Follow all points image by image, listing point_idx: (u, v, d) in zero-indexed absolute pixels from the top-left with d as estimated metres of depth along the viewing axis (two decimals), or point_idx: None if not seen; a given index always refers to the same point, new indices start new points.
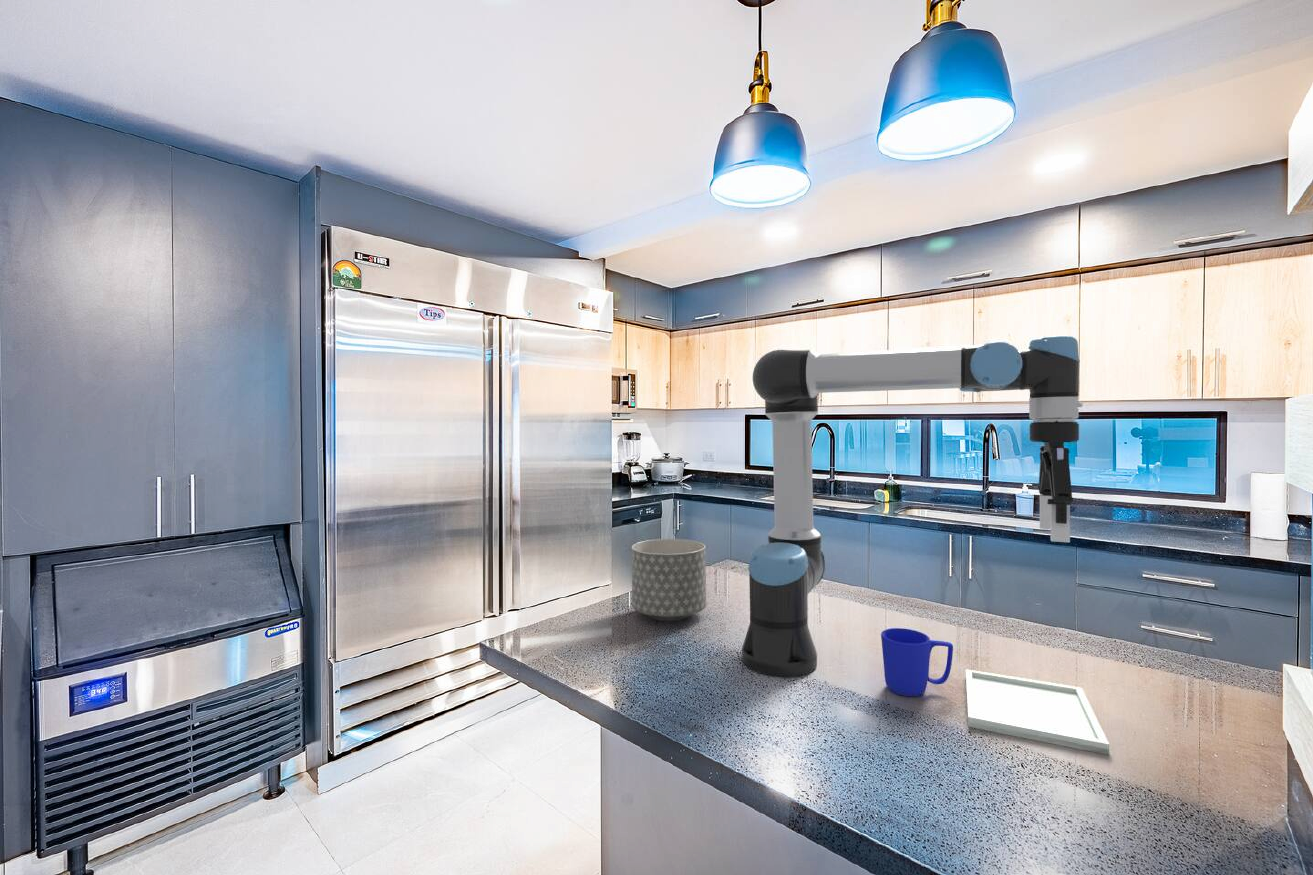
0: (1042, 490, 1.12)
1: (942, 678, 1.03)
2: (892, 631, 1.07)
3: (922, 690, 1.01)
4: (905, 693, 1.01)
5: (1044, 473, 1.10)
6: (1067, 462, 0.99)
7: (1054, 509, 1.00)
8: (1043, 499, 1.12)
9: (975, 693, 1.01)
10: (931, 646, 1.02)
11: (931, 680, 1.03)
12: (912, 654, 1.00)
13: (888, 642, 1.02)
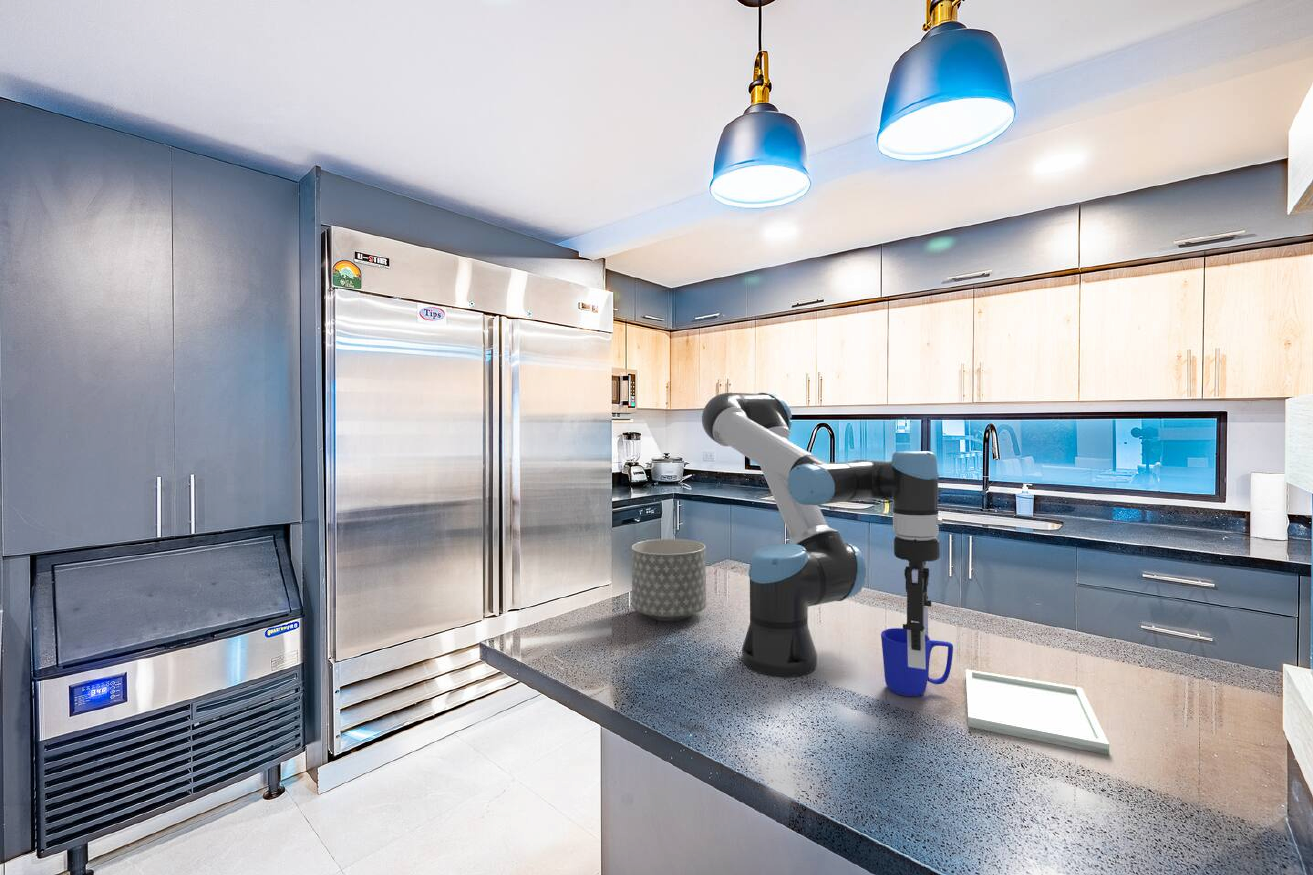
0: None
1: (942, 678, 1.03)
2: (892, 631, 1.07)
3: (922, 690, 1.01)
4: (905, 693, 1.01)
5: None
6: (921, 586, 0.96)
7: (910, 634, 0.97)
8: None
9: (975, 693, 1.01)
10: (931, 646, 1.02)
11: (931, 680, 1.03)
12: None
13: (888, 642, 1.02)
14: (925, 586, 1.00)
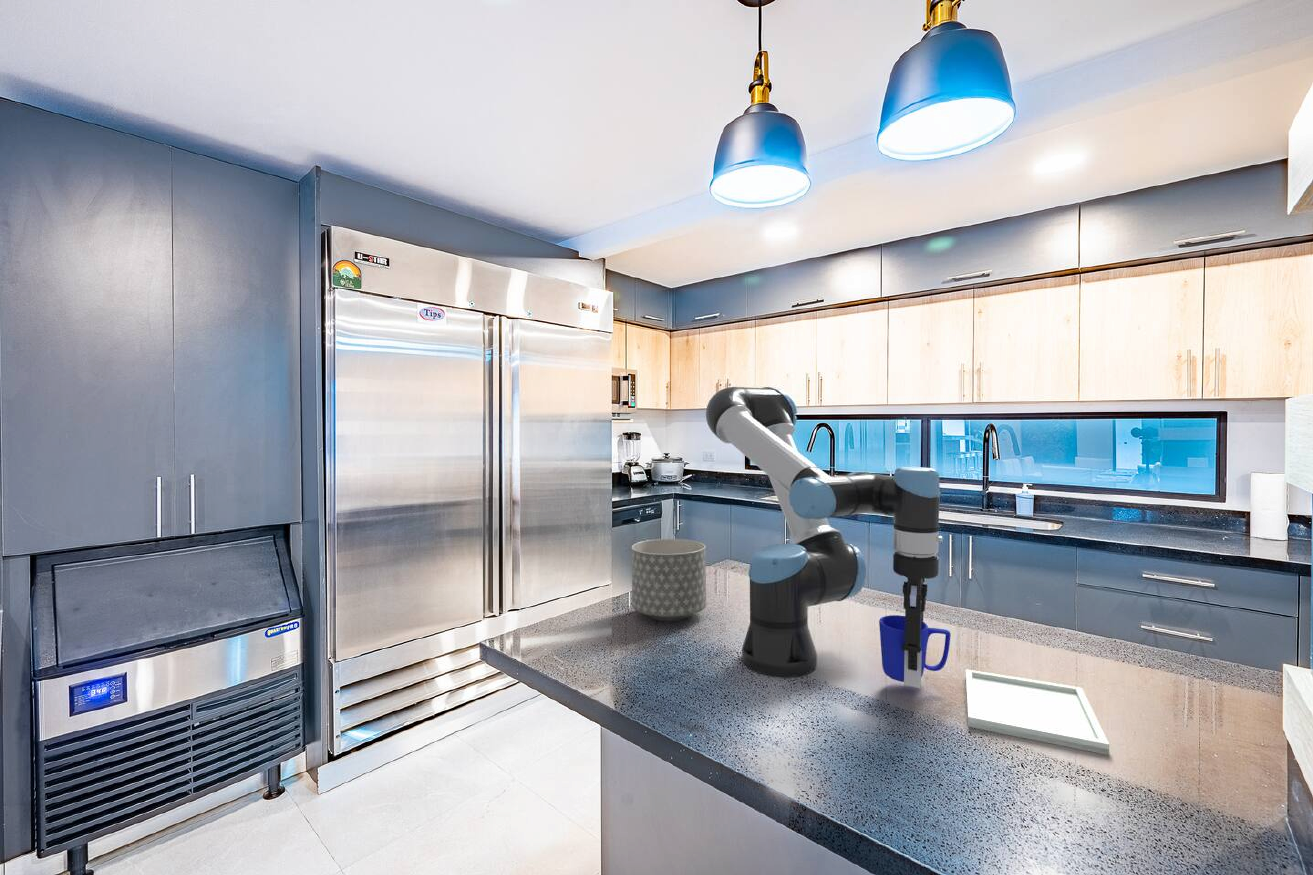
0: None
1: (939, 665, 1.03)
2: (890, 618, 1.08)
3: None
4: (902, 679, 1.02)
5: None
6: (919, 610, 0.98)
7: (907, 654, 1.01)
8: None
9: (975, 693, 1.01)
10: (929, 633, 1.03)
11: (928, 667, 1.04)
12: None
13: (886, 629, 1.03)
14: (923, 605, 1.01)
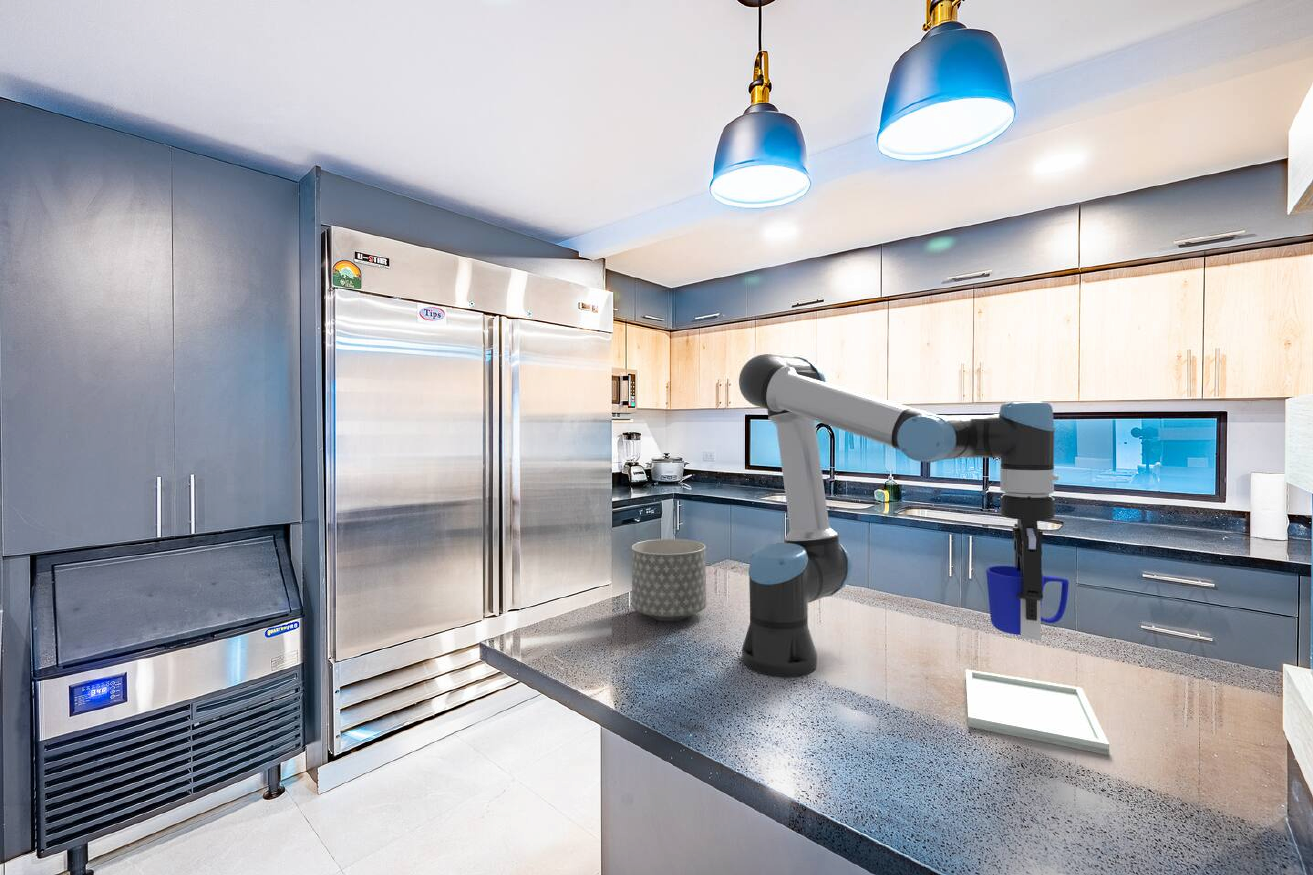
0: None
1: (1056, 616, 0.95)
2: (996, 569, 1.00)
3: None
4: (1017, 632, 0.94)
5: None
6: (1039, 553, 0.89)
7: (1024, 603, 0.92)
8: None
9: (975, 693, 1.01)
10: (1044, 582, 0.95)
11: (1043, 619, 0.95)
12: None
13: (997, 578, 0.95)
14: None
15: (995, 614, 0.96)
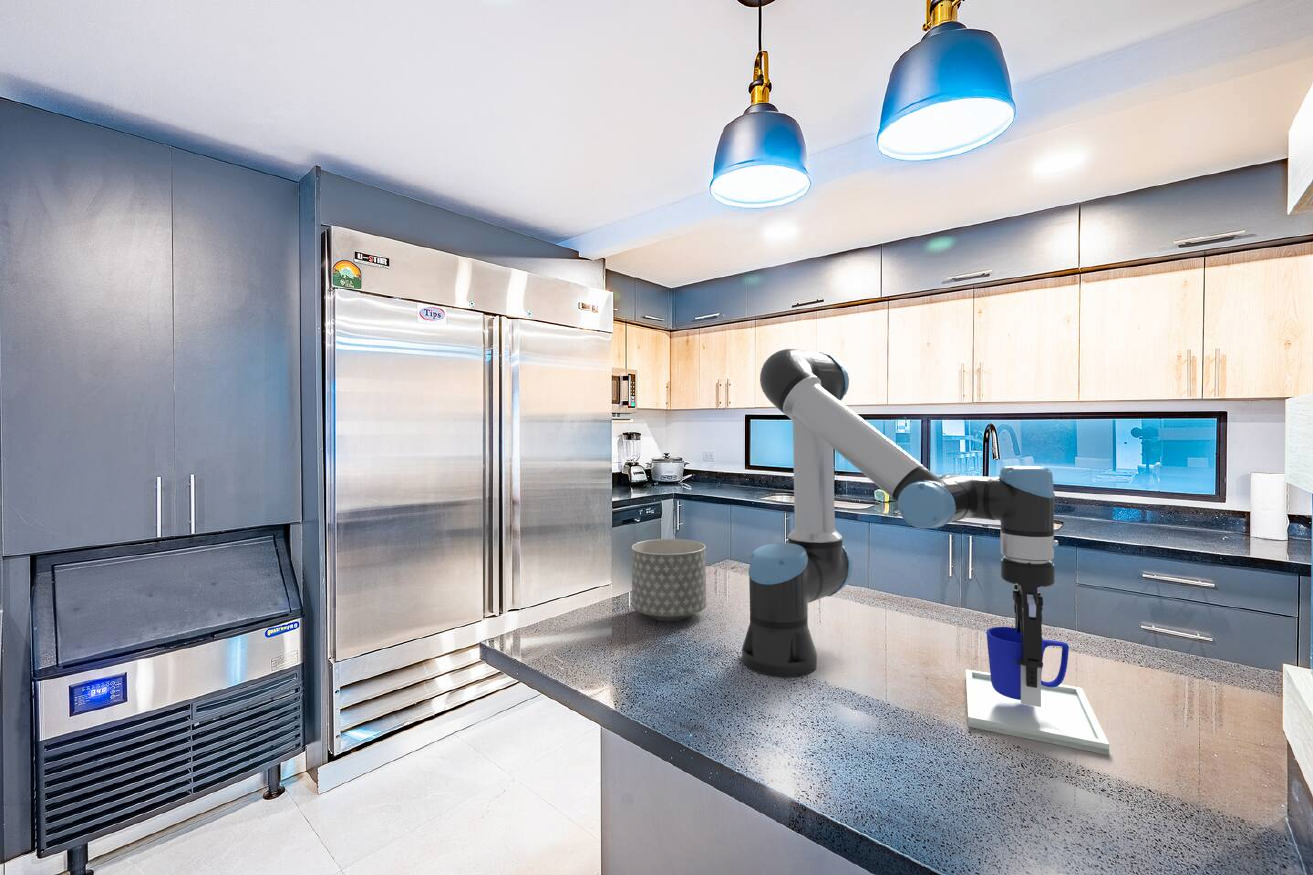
0: None
1: (1057, 680, 0.95)
2: (997, 630, 1.00)
3: None
4: (1017, 697, 0.94)
5: None
6: (1039, 622, 0.90)
7: (1024, 669, 0.93)
8: None
9: (975, 693, 1.01)
10: (1044, 646, 0.95)
11: (1044, 683, 0.95)
12: None
13: (998, 642, 0.95)
14: None
15: (995, 678, 0.96)
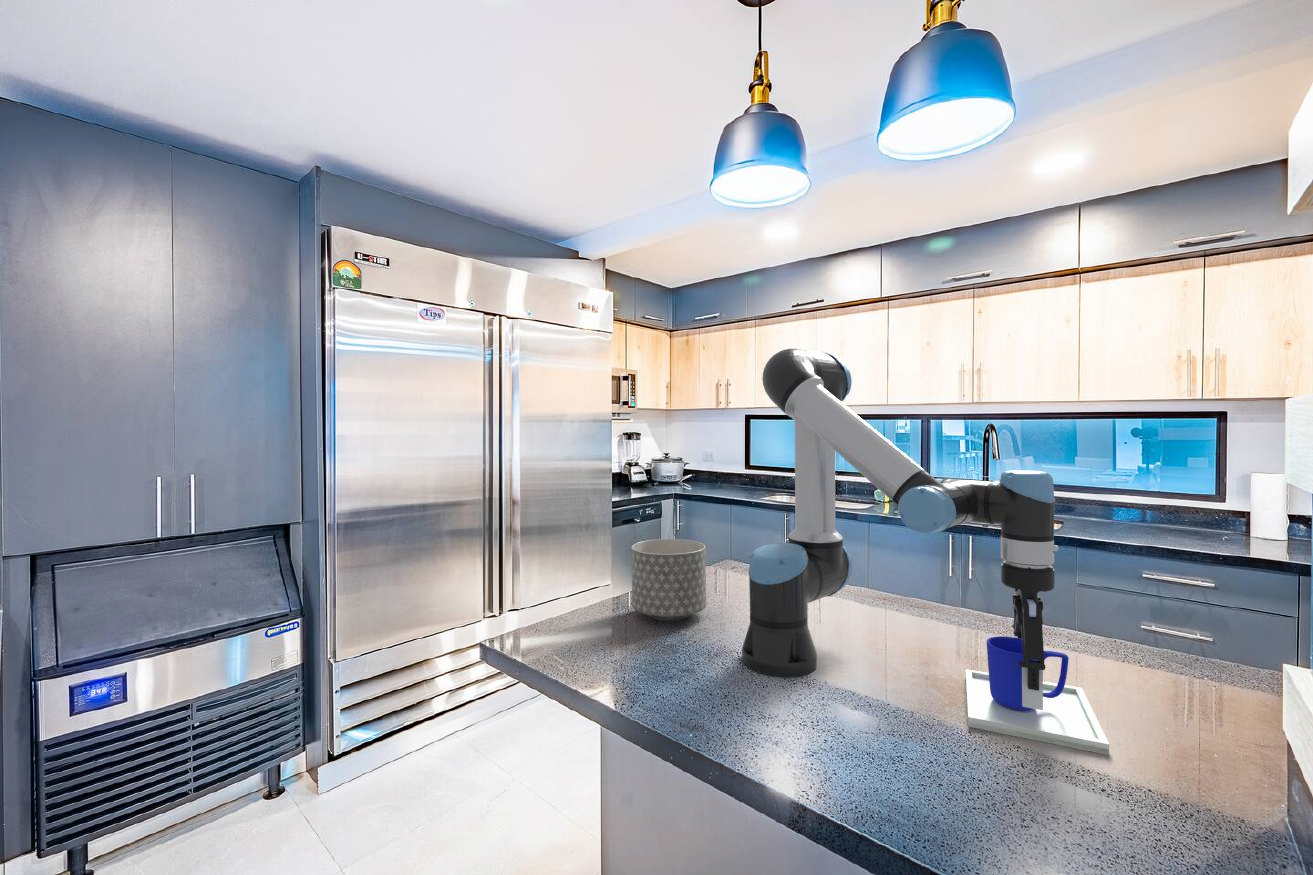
0: (1017, 632, 1.02)
1: (1056, 691, 0.95)
2: (997, 639, 1.00)
3: None
4: (1016, 707, 0.94)
5: None
6: (1040, 621, 0.89)
7: (1026, 671, 0.90)
8: None
9: (975, 693, 1.01)
10: (1044, 657, 0.95)
11: (1043, 693, 0.96)
12: None
13: (998, 652, 0.95)
14: None
15: (995, 687, 0.96)
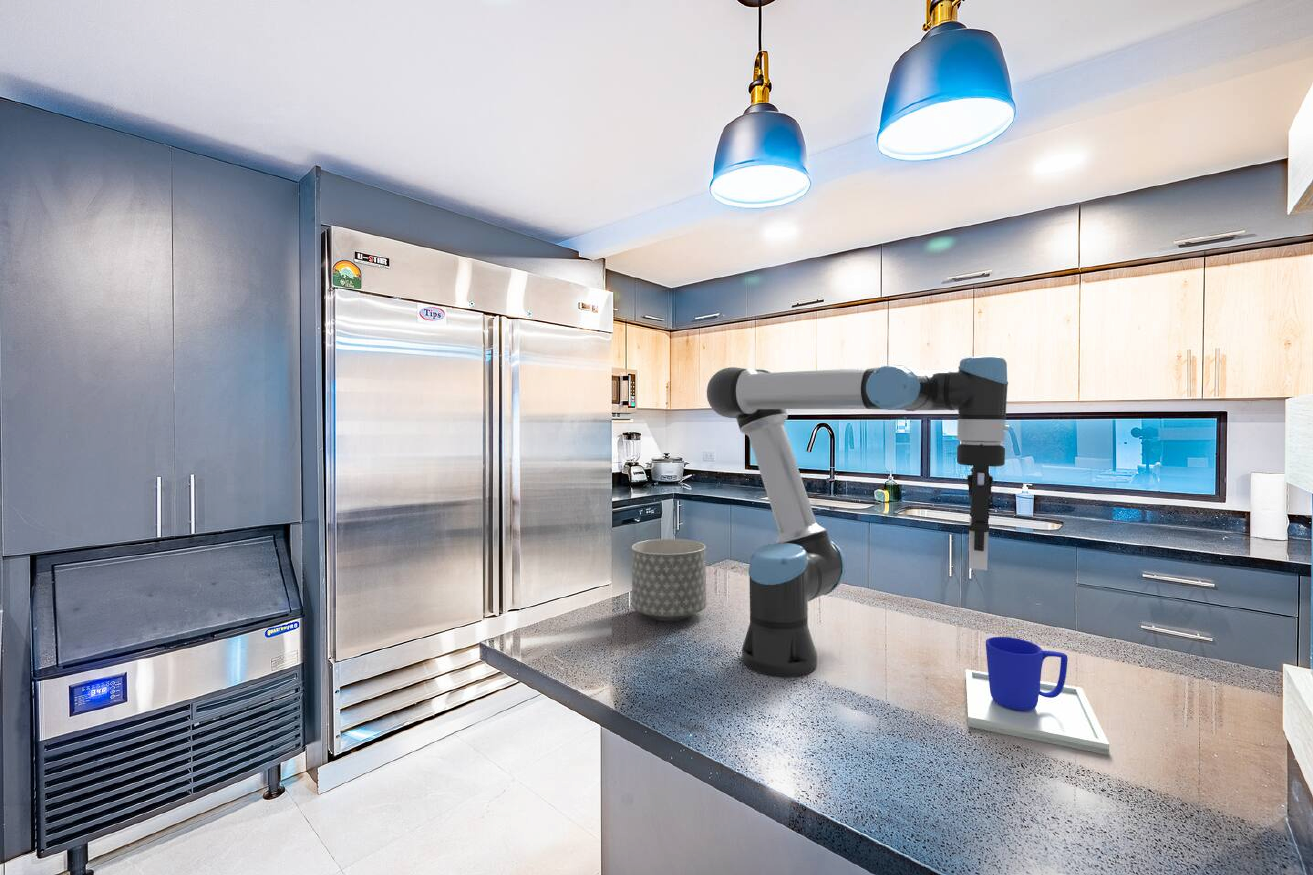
0: (972, 513, 1.10)
1: (1055, 691, 0.95)
2: (996, 640, 1.00)
3: (1035, 704, 0.94)
4: (1016, 707, 0.94)
5: None
6: (987, 488, 0.96)
7: (973, 535, 0.97)
8: None
9: (975, 693, 1.01)
10: (1043, 657, 0.95)
11: (1043, 693, 0.96)
12: (1025, 665, 0.93)
13: (997, 653, 0.95)
14: (989, 490, 0.99)
15: (994, 688, 0.96)
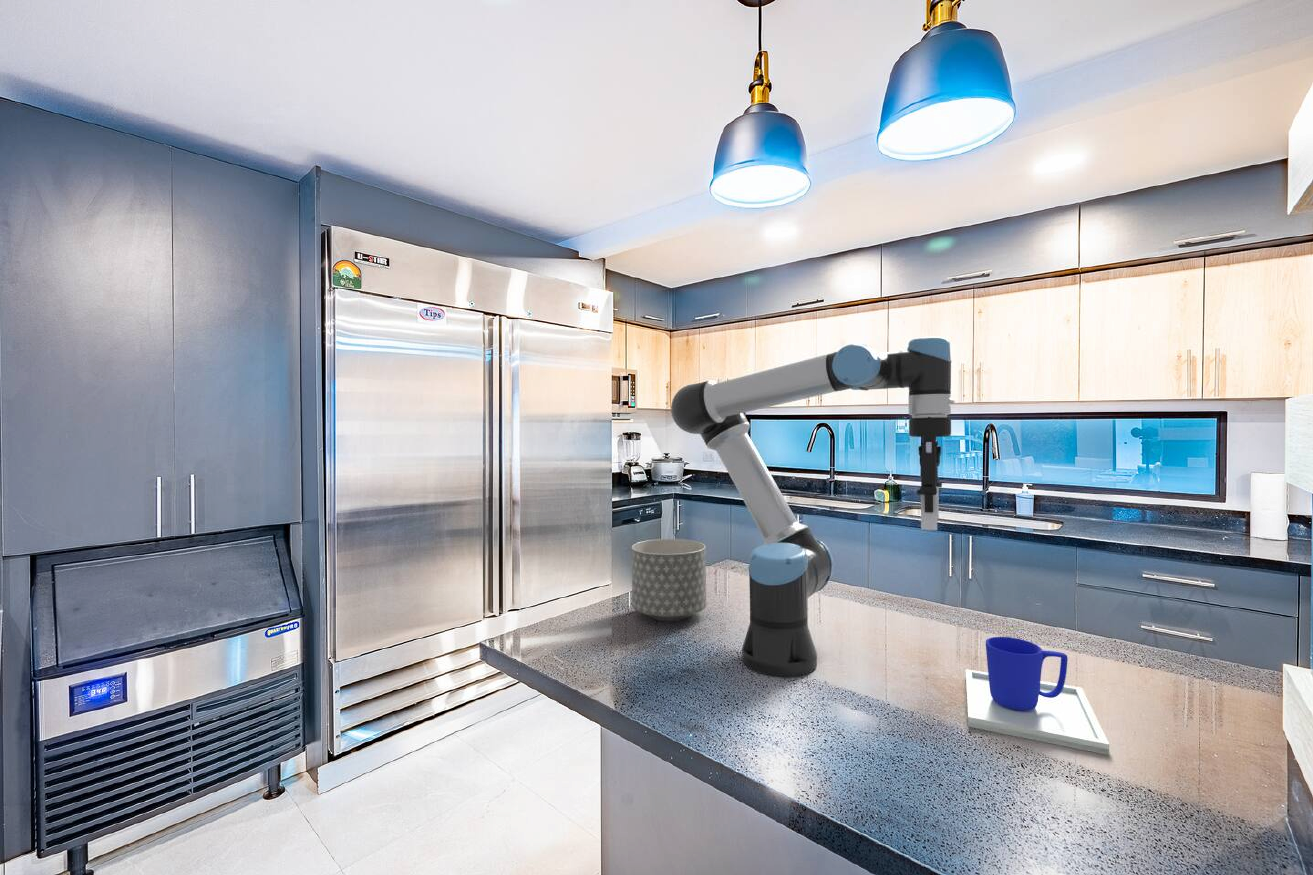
0: None
1: (1055, 691, 0.95)
2: (996, 640, 1.00)
3: (1035, 704, 0.94)
4: (1016, 707, 0.94)
5: None
6: (934, 455, 1.06)
7: (923, 499, 1.07)
8: None
9: (975, 693, 1.01)
10: (1043, 657, 0.95)
11: (1043, 693, 0.96)
12: (1025, 665, 0.93)
13: (997, 653, 0.95)
14: (937, 458, 1.09)
15: (994, 688, 0.96)
